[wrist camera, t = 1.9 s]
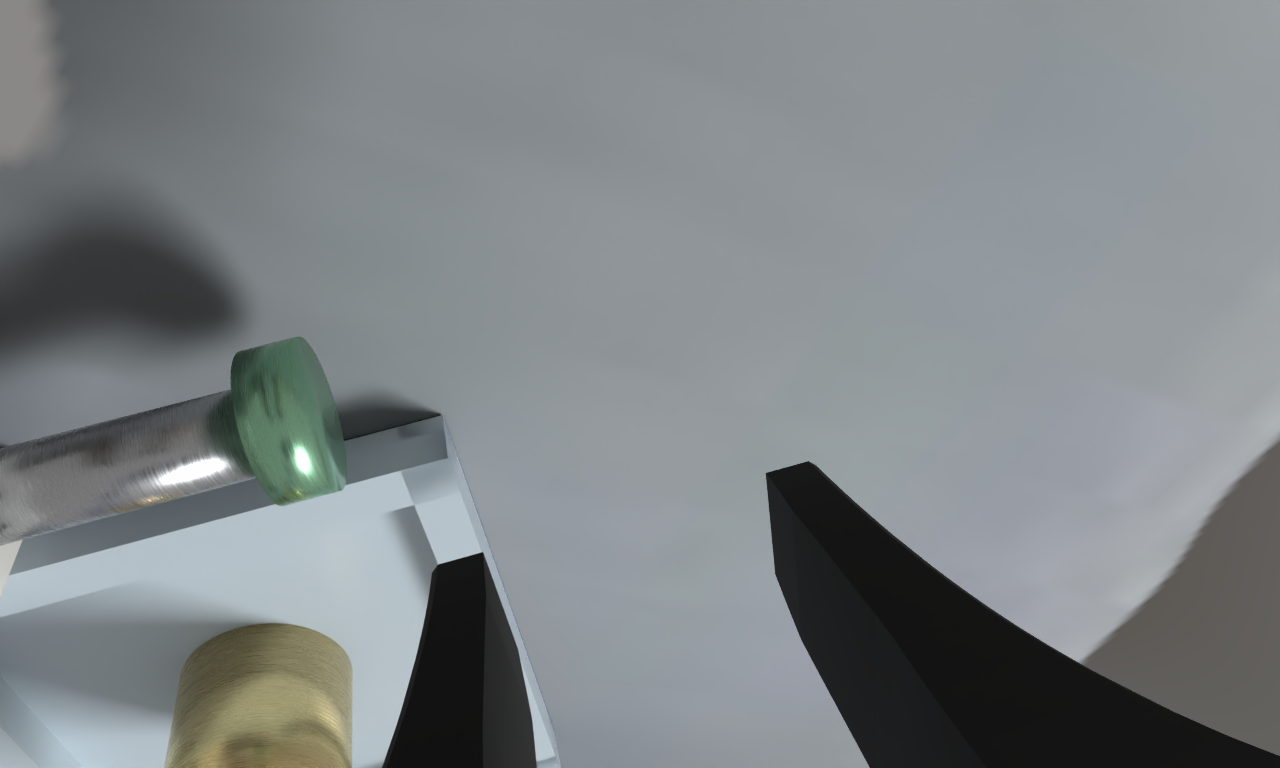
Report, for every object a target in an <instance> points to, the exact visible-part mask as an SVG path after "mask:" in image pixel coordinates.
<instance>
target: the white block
mask: <svg viewBox="0 0 1280 768" xmlns="http://www.w3.org/2000/svg"><path fill="white" fill-rule="evenodd" d="M21 543H22V540H20V541H16V542H12V543H9V544H5V545H1V546H0V596H1V594H2V591H3V589H4V586H5V584H6V581H7V578H8V576H9V573H10V571H11V568H12V566H13V563H14V561H15V558H16V555H17V553H18V550H19V548H20V545H21Z"/></svg>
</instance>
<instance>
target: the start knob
mask: <svg viewBox="0 0 1280 768" xmlns="http://www.w3.org/2000/svg"><path fill="white" fill-rule="evenodd" d="M254 478H256V479H257V481H258V482H259V484H260V486H261V488H262V489H263V491H264V492H265V494H266V495H267V496H268V497H269V499H270V500H271V501H272V502H274V503H275V504H276V505H278V506H286V505H290V504H294V503H298V502H301V501H305V500H309V499H312V498H316V497H320V496H324V495H327V494H331V493H335V492H339V491H342V490H343V489H344V487H345V484H346V479H347V461H346V451H345V444H344V439H343V433H342V429H341V424H340V420H339V416H338V412H337V408H336V405H335V402H334V398H333V395H332V392H331V389H330V386H329V384H328V381H327V378H326V376H325V373H324V371H323V369H322V366H321V364H320V362H319V360H318V358H317V356H316V354H315V353H314V351H313V349H312V348H311V346H310V345H309V344H308V342H307V341H306V340H305V339H304V338H302V337H294V338H290V339H286V340H282V341H278V342H274V343H270V344H266V345H262V346H258V347H254V348H250V349H246V350H242V351H239V352H237V353H236V355H235V356H234V358H233V361H232V366H231V390H227V391H223V392H219V393H215V394H211V395H207V396H203V397H199V398H195V399H191V400H187V401H184V402H180V403H176V404H172V405H168V406H164V407H160V408H156V409H152V410H148V411H144V412H140V413H137V414H133V415H129V416H125V417H121V418H117V419H113V420H109V421H105V422H101V423H97V424H93V425H90V426H86V427H82V428H78V429H74V430H70V431H66V432H62V433H58V434H54V435H50V436H46V437H43V438H39V439H35V440H31V441H27V442H23V443H19V444H15V445H11V446H7V447H3V448H0V546H1V545H5V544H9V543H12V542H16V541H20V540H24V539H28V538H31V537H35V536H39V535H43V534H46V533H50V532H54V531H58V530H62V529H65V528H69V527H73V526H77V525H80V524H84V523H88V522H92V521H96V520H99V519H103V518H107V517H111V516H114V515H118V514H122V513H126V512H130V511H133V510H137V509H141V508H145V507H148V506H152V505H156V504H160V503H163V502H167V501H171V500H175V499H179V498H182V497H186V496H190V495H194V494H197V493H201V492H205V491H209V490H213V489H216V488H220V487H224V486H228V485H231V484H235V483H239V482H243V481H247V480H250V479H254Z"/></svg>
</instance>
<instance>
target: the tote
mask: <svg viewBox="0 0 1280 768" xmlns="http://www.w3.org/2000/svg"><path fill="white" fill-rule="evenodd" d="M344 444H345V451H346V461H347V479H346V484H345V487H344V489H343V490H342V491H339V492H335V493H331V494H327V495H324V496H320V497H316V498H312V499H309V500H305V501H301V502H298V503H294V504H290V505H286V506H278V505H276V504H275V503H274V502H272V501H271V500H270V499H269V497H268V496H267V495H266V494H265V492H264V491H263V489H262V488H261V486H260V484H259V482H258V481H257V479H256V478H254V479H250V480H247V481H243V482H239V483H235V484H231V485H228V486H224V487H220V488H216V489H213V490H209V491H205V492H201V493H197V494H194V495H190V496H186V497H182V498H179V499H175V500H171V501H167V502H163V503H160V504H156V505H152V506H148V507H145V508H141V509H137V510H133V511H130V512H126V513H122V514H118V515H114V516H111V517H107V518H103V519H99V520H96V521H92V522H88V523H84V524H80V525H77V526H73V527H69V528H65V529H62V530H58V531H54V532H50V533H46V534H43V535H39V536H35V537H31V538H28V539H24V540H22V543H21V545H20V548H19V550H18V553H17V555H16V558H15V561H14V563H13V566H12V568H11V571H10V573H9V576H8V578H7V581H6V584H5V586H4V589H3V591H2V594H1V596H0V768H164V764H165V758H166V753H167V747H168V741H169V736H170V730H171V724H172V719H173V713H174V708H175V702H176V696H177V691H178V685H179V679H180V674H181V671H182V668H183V666H184V664H185V662H186V660H187V659H188V658H189V656H190V655H191V654H192V653H193V652H194V651H195V650H196V649H197V648H198V647H199V646H201V645H202V644H203V643H205V642H206V641H208V640H210V639H211V638H213V637H215V636H217V635H219V634H222V633H224V632H226V631H229V630H233V629H236V628H240V627H244V626H249V625H256V624H267V623H279V624H291V625H297V626H302V627H306V628H309V629H312V630H315V631H318V632H320V633H322V634H324V635H326V636H328V637H330V638H331V639H333V640H334V641H335V642H337V643H338V644H339V645H340V646H341V647H342V648H343V649H344V650H345V652H346V653H347V655H348V656H349V659H350V661H351V664H352V669H353V693H352V768H382V766H383V763H384V760H385V757H386V754H387V751H388V748H389V746H390V743H391V740H392V737H393V734H394V731H395V728H396V725H397V722H398V719H399V716H400V712H401V709H402V706H403V702H404V698H405V695H406V691H407V688H408V684H409V680H410V677H411V673H412V670H413V666H414V662H415V659H416V655H417V650H418V646H419V642H420V637H421V633H422V629H423V624H424V619H425V614H426V609H427V603H428V597H429V591H430V584H431V575H432V572H433V571H434V569H435V568H436V566H437V565H438V564H442V563H445V562H449V561H452V560H456V559H460V558H463V557H467V556H470V555H474V554H477V553H481V552H483V553H484V556H485V558H486V561H487V564H488V567H489V570H490V572H491V575H492V578H493V581H494V583H495V586H496V589H497V592H498V595H499V597H500V600H501V603H502V606H503V608H504V611H505V614H506V617H507V620H508V622H509V625H510V628H511V631H512V634H513V636H514V639H515V642H516V645H517V647H518V651H519V656H520V661H521V666H522V671H523V676H524V681H525V685H526V690H527V695H528V700H529V706H530V711H531V716H532V722H533V732H534V742H535V752H536V763H537V768H561V765H560V760H559V755H558V750H557V744H556V739H555V734H554V730H553V727H552V724H551V721H550V718H549V715H548V712H547V710H546V707H545V704H544V701H543V698H542V695H541V693H540V690H539V687H538V684H537V681H536V678H535V676H534V673H533V670H532V667H531V664H530V661H529V659H528V656H527V653H526V650H525V647H524V644H523V642H522V639H521V636H520V633H519V630H518V627H517V625H516V622H515V619H514V616H513V613H512V610H511V608H510V605H509V602H508V599H507V596H506V593H505V591H504V588H503V585H502V582H501V579H500V576H499V574H498V571H497V568H496V565H495V562H494V559H493V557H492V554H491V551H490V548H489V545H488V542H487V539H486V537H485V534H484V531H483V528H482V525H481V522H480V520H479V517H478V514H477V511H476V508H475V505H474V503H473V500H472V497H471V494H470V491H469V488H468V486H467V483H466V480H465V477H464V474H463V471H462V469H461V466H460V463H459V460H458V457H457V454H456V452H455V449H454V446H453V443H452V440H451V437H450V435H449V432H448V429H447V426H446V423H445V420H444V418H443V415H441V416H438V417H434V418H430V419H426V420H422V421H419V422H415V423H411V424H407V425H403V426H400V427H396V428H392V429H388V430H384V431H381V432H377V433H373V434H369V435H365V436H362V437H358V438H354V439H350V440H346V441H344Z"/></svg>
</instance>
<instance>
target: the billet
mask: <svg viewBox="0 0 1280 768" xmlns="http://www.w3.org/2000/svg"><path fill="white" fill-rule="evenodd" d="M352 693H353V669H352V664H351V661H350V659H349V656H348V655H347V653H346V652H345V650H344V649H343V648H342V647H341V646H340V645H339V644H338V643H337V642H335V641H334V640H333V639H331V638H330V637H328V636H326V635H324V634H322V633H320V632H318V631H315V630H312V629H309V628H306V627H302V626H297V625H291V624H279V623H267V624H256V625H249V626H244V627H240V628H236V629H233V630H229V631H226V632H224V633H222V634H219V635H217V636H215V637H213V638H211V639H210V640H208V641H206V642H205V643H203V644H202V645H201V646H199V647H198V648H197V649H196V650H195V651H194V652H193V653H192V654H191V655H190V656H189V658H188V659H187V660H186V662H185V664H184V666H183V668H182V671H181V674H180V679H179V685H178V691H177V696H176V702H175V708H174V713H173V719H172V724H171V730H170V736H169V741H168V747H167V753H166V758H165V764H164V768H352Z"/></svg>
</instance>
